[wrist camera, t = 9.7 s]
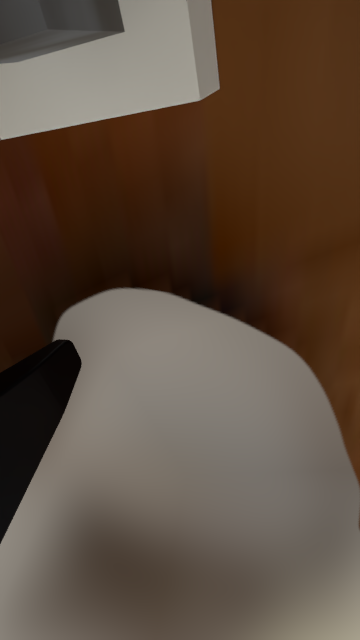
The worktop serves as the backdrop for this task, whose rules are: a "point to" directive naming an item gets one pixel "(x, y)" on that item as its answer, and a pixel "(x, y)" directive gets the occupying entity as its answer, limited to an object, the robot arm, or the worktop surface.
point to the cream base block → (115, 70)
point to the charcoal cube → (54, 25)
